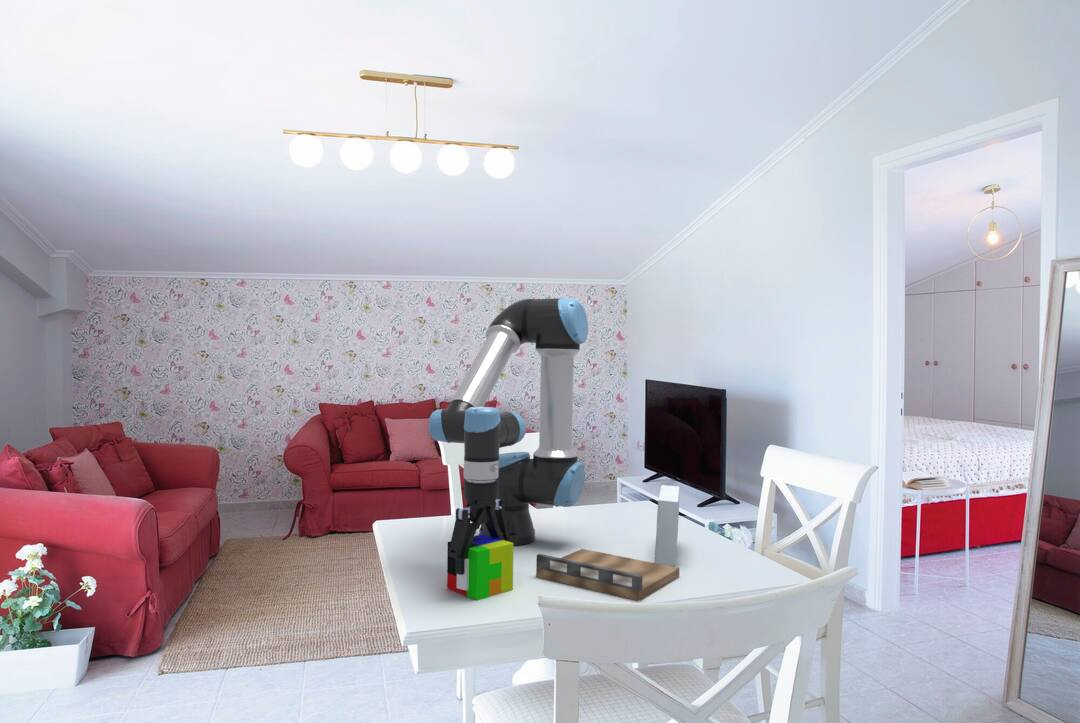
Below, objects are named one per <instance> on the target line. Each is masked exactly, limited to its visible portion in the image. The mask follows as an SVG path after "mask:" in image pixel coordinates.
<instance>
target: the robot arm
mask: <svg viewBox="0 0 1080 723" xmlns="http://www.w3.org/2000/svg"><path fill="white" fill-rule="evenodd" d="M588 335H589V321H588V316H587V312H586V310H585V308H584V306H583V304H582V303H581V302H580V301H579V300H577V299H575V298H564V297H560V298H524V299H520V300H518V301H516V302H513V303H512V304H510V305H508V306H507V307H506V308H504V309H503V310H502V311H501V312H499V314H498V315H497V316H496V317H495V318H493V320H492V322H491V323H490V325H489V327H488V328H487V330H486V332H485V338H486V339H485V341H484V342H483V344H482V347H481V349H480V350H479V352H478V353H477V355H476V357H475V359H474V360H473V362H472V364H471V366H470V367H469V369H468V371H467V373H466V374H465V375H464V376H465V377H464V378H463V379H462V381H461V383H460V385H459V387H458V389H457V390H456V392H455V393H454V396H453V398H452V399H451V401H450V403H449V404H448V406H447V407H446V408H441V409H436V410H434V411H432V413H431V414H430V416H429V419H428V424H427V425H428V433H429V435H430V437H431V438H432V439H433V440H434V441H436V442H437V441H438V442H441V443H443V442H444V443H447V444H452V443H453V444H454V443H455V444H456V443H458V444H463V448H464V450H463V452H464V453H463V454H464V456H463V479H465V480H464V482H463V498H464V499H465V500H466V506H465V507H463V508H459V507H458V508H456V509H455V522H454V527H453V531H452V535H451V540H450V541H451V543H450V548H449V552H448V551H447V552H448V556H450V557H454V558H455V559H456V574H457V588H458V589H462V590H466V591H467V590H469V558H466V557H467V554H468V551H469V549H470V546H471V543H472V541H473V538H474V536H476V532H477V530H478V529H479V531H478V535H482V534H484V535H488V536H491V537H495V538H498V539H501V540H505V541H508V542H511V543H513V546H521V545H527V544H529V543H530V544H531V543H532V542H533V541H535V540H536V529H535V528H534V524H533V521H532V517H531V513H530V504H535V505H537V504H538V505H546V506H554V507H555V508H558V507H572V506H574V505H575V504H576V503H577V502H578V501H579V499H580V497H581V495H582V492H583V489H584V485H585V481H586V469H585V465H584V464H583V463H582V462H580V461H578V453H577V452H576V451H575V450H574V448H573V413H574V412H573V408H574V407H573V402H574V367H575V366H574V358H575V356H576V355H577V354H578V353H579V352H580V349H581V348H580V346H581V345H582V344H584V343H586V341H587V339H588ZM527 343H532V344H534V343H535V351H536V352H537V354H539V355H540V385H539V386H540V387H539V388H540V391H539V392H540V393H539V394H540V395H539V434H538V435H539V437H538V438H539V440H538V441H539V442H538V443H539V444H538V448H537V449H536V450H535V451H534V452H533V453H532V456H533V457H532V458H531V454H530V453H529V452H528V451H516V452H506V453H500V449H501V448H506V447H512V446H514V445H516V444H517V443H520V442H521V441H522V440H523V439H524V438H525V436H526V432H527V425H526V424H527V423H526V421H525V420H524V418H523V416H522V415H520V414H519V413H517V412H513V411H504V412H500V410H499V409H498V407H497V408H496V407H494V406H491V407H490V406H485V405H486V403H487V401H488V399H489V397H490V395H491V393H492V392H493V390H494V388H495V386H496V385H497V382H498V380H499V378H500V377H501V375H502V373H503V371H504V369H505V367H506V365H507V364H508V361H509V359H510V358H511V355H512V354H513V353H516V352H518V350H519V349H520V347H521V346H522V345H523V344H527ZM462 551H463V552H462Z"/></svg>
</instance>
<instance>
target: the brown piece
mask: <svg viewBox="0 0 1080 723" xmlns="http://www.w3.org/2000/svg"><path fill="white" fill-rule="evenodd" d="M535 566H536V567H535V568H536V574H535V576H536V578H540V579H543V580H548V581H552V582H557V583H561V584H565V585H569V586H574V587H578V588H583V589H587V590H592V591H596V592H599V593H603V594H609V595H613V596H617V597H621V598H626V599H630V600H633V599H634V601H637V600H640V601H642V600H644V599H645V598H647V597H649V596H650V595H652V594H653V593H654V592H657V591H659V590H660V589H661V588H663V587H665V586H666V585H668V584H670V583H671V582H674V581H675V580H676V579H678V578H680V567H676V566H667V565H662V564H657V563H654V562H651V561H646V560H641V559H636V558H630V557H626V556H621V555H616V554H611V553H606V552H601V551H596V550H592V549H591V550H590V549H585V548H580V549H579V550H576V551H574V552H571V553H569V554H567V555H565V556H562V557H556V556H553V555H547V554H542V553H538V554H536V564H535Z"/></svg>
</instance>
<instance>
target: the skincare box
mask: <svg viewBox="0 0 1080 723" xmlns="http://www.w3.org/2000/svg"><path fill="white" fill-rule="evenodd" d="M660 486H661V487H660V491H659V494H658V499H657V513H656V514H657V515H656V530H655V531H656V533H655V534H656V535H655V550H654V562H653V563H657V564H662V565H667V566H672V567H676V566H675V565H676V558H677V549H678V548H677V547H678V545H677V544H678V533H679V518H680V516H679V515H680V486H677V485H676V486H675V485H667V484H666V485H664V484H662V485H660Z"/></svg>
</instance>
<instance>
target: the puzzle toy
mask: <svg viewBox="0 0 1080 723" xmlns="http://www.w3.org/2000/svg"><path fill="white" fill-rule="evenodd" d="M450 543H451V540H450V541H447V554H446V556H447V557H446V558H447V564H446V565H447V568H446V572H447V573H446V588H447V589H448V590H450V591H453V592H456V593H458V594H460V595H463V596H465V597H468V598H470V599H472V600H475V601H479V600H482V599H486V598H490V597H492V595H493V596H495V595H499V594H502V592H503V593H505V592H509V591H512V590H513V589H514V545H513V543H511V542H508V541H505V540H501V539H498V538H495V537H491V536H488V535H484V534H482V535H479V534H478V535H474V538H473V541H472V543H471V546H470V549H469V551H468V554H467V557H466V558H469V590H467V591H466V590H462V589H458V588H457V574H456V559H455V558H454V557H450V556H448V552H449V548H450ZM462 552H463V551H462Z"/></svg>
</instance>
